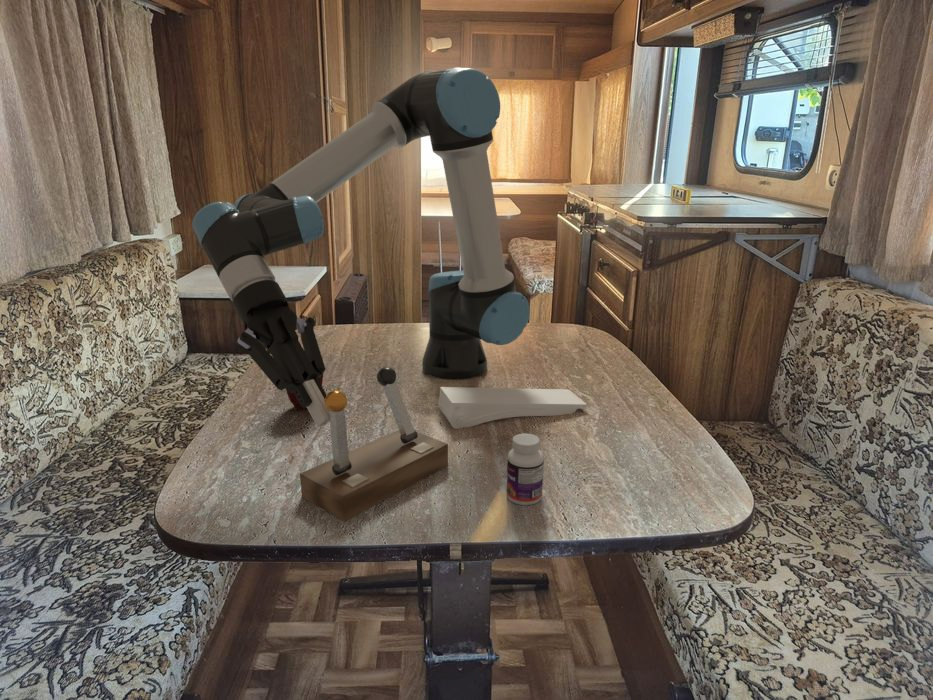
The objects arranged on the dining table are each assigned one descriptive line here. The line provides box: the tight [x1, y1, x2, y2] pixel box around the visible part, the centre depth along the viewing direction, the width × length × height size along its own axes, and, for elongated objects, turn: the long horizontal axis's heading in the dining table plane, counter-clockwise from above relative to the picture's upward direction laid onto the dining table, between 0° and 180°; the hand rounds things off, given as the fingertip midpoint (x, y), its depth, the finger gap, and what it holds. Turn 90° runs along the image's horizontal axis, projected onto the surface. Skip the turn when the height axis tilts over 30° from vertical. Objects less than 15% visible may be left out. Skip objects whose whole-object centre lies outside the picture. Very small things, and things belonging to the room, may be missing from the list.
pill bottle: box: [506, 432, 545, 506], centre depth 99 cm, size 5×5×10 cm
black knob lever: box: [376, 366, 418, 444], centre depth 109 cm, size 3×3×13 cm
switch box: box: [299, 429, 449, 522], centre depth 105 cm, size 10×22×4 cm, turn 139°
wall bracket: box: [437, 386, 588, 430], centre depth 131 cm, size 10×7×28 cm
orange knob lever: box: [325, 389, 352, 475], centre depth 97 cm, size 3×3×13 cm
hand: (325, 421), depth 97 cm, fingers closed
